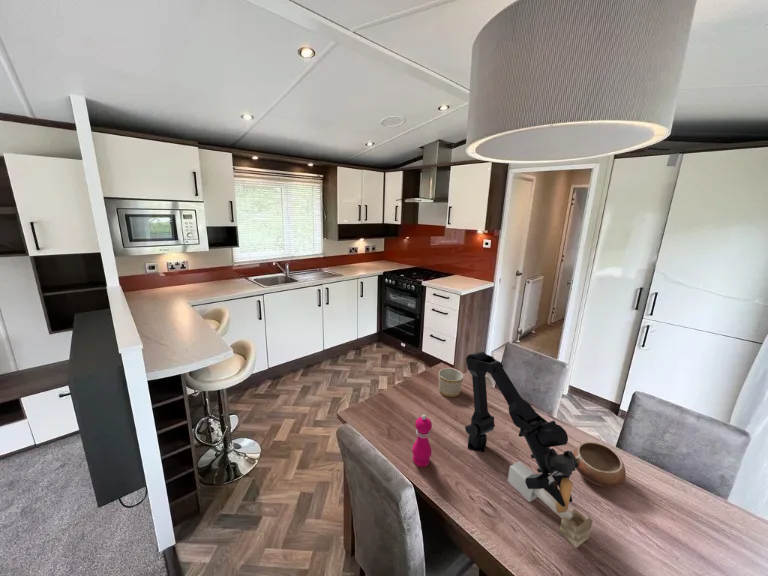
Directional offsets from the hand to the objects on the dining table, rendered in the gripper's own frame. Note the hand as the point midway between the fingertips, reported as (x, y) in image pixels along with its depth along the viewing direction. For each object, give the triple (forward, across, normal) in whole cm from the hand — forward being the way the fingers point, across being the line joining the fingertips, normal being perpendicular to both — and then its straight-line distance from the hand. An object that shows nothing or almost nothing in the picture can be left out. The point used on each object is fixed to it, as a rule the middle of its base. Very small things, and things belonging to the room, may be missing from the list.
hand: (567, 504), depth 92 cm
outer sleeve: (-4, 0, +16) cm, 16 cm away
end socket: (+8, 0, +3) cm, 9 cm away
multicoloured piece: (0, 0, +8) cm, 8 cm away
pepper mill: (-22, -25, +34) cm, 48 cm away
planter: (-44, +15, +56) cm, 73 cm away
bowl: (+2, +28, +10) cm, 30 cm away
